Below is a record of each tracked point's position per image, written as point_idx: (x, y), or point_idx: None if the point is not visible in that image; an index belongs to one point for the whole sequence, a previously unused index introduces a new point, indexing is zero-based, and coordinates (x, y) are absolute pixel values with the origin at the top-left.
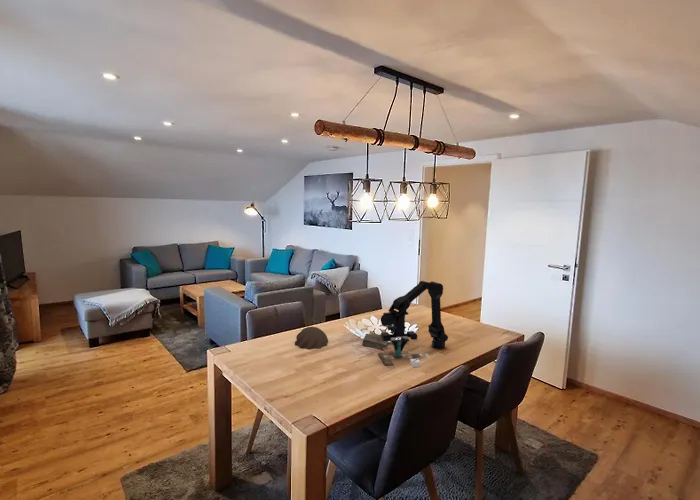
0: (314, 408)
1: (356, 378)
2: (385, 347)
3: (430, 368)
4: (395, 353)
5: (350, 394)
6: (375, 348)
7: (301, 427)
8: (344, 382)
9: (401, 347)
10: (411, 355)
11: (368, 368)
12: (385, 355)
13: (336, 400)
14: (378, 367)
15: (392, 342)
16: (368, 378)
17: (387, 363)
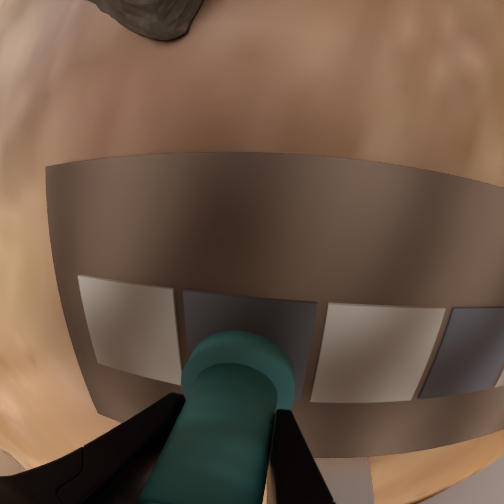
0: (5, 446)
1: (19, 415)
2: (151, 20)
3: (420, 474)
4: (186, 393)
5: (38, 460)
6: (94, 2)
7: (16, 464)
8: (2, 412)
9: (268, 499)
10: (444, 343)
11: (28, 376)
12: (98, 262)
13: (23, 455)
14: (69, 394)
15: (39, 484)
16: (52, 440)
17: (112, 417)
